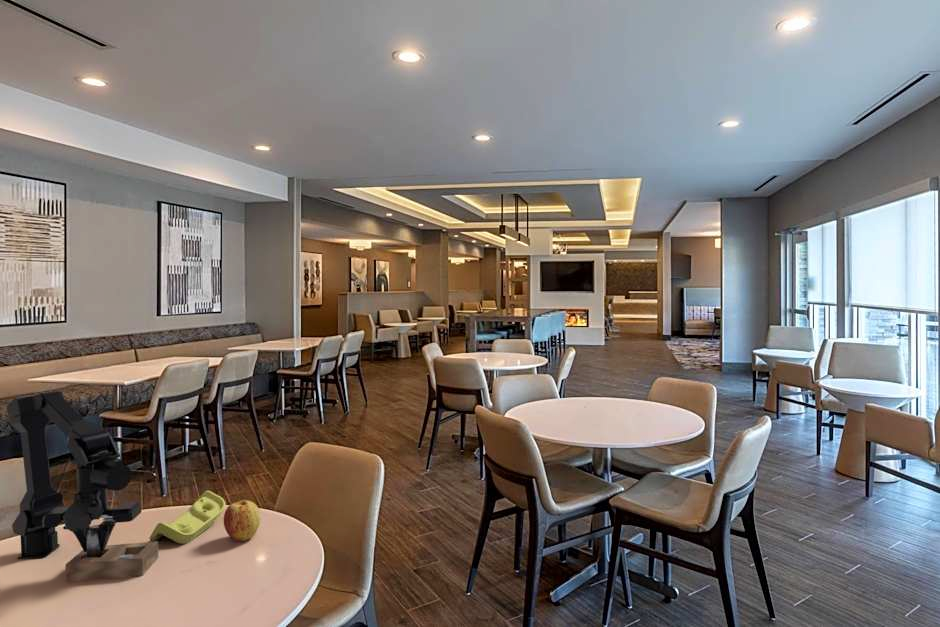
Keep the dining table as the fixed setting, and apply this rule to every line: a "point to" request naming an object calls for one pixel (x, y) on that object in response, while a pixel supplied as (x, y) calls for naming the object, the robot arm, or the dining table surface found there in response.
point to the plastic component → (192, 520)
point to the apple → (242, 520)
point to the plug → (93, 542)
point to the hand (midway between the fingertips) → (94, 550)
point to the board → (113, 562)
